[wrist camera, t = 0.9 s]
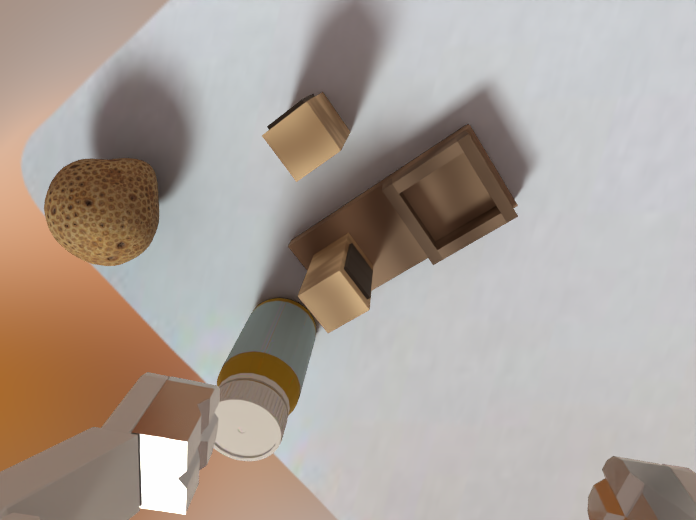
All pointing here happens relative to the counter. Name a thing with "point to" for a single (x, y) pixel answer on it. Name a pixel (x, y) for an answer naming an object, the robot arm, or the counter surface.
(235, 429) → the bottle
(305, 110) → the block
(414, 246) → the wooden block holder
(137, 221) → the natural sponge
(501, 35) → the counter surface
